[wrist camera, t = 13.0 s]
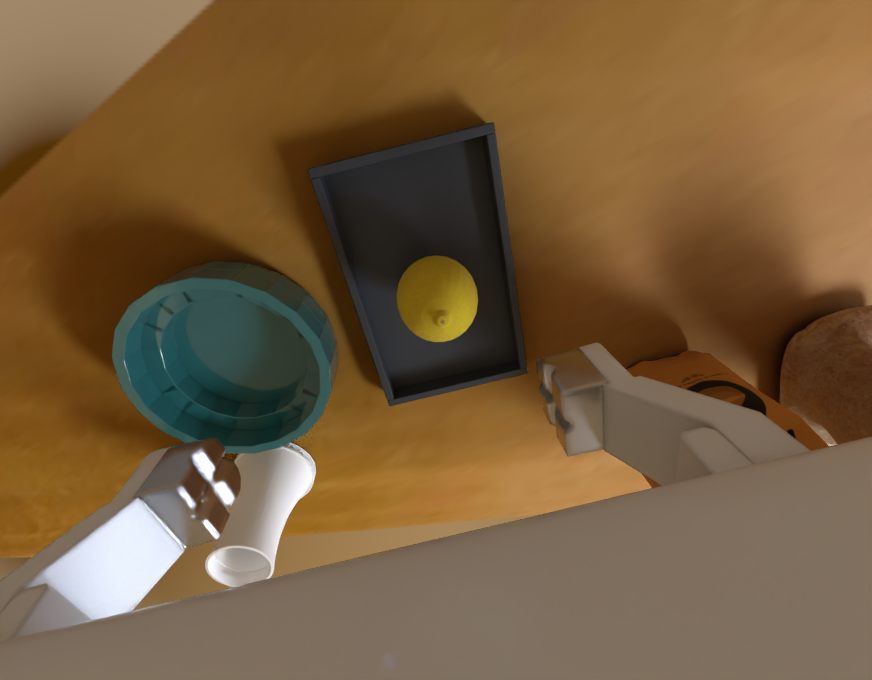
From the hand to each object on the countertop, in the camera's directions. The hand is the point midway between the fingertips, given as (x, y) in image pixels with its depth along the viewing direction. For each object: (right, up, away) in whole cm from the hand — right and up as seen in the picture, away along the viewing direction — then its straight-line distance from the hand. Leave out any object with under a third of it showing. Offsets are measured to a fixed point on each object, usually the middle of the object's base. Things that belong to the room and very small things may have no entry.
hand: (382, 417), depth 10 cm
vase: (-14, -11, +29) cm, 34 cm away
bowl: (-14, +1, +22) cm, 27 cm away
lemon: (+1, +7, +21) cm, 22 cm away
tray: (+1, +7, +21) cm, 22 cm away
